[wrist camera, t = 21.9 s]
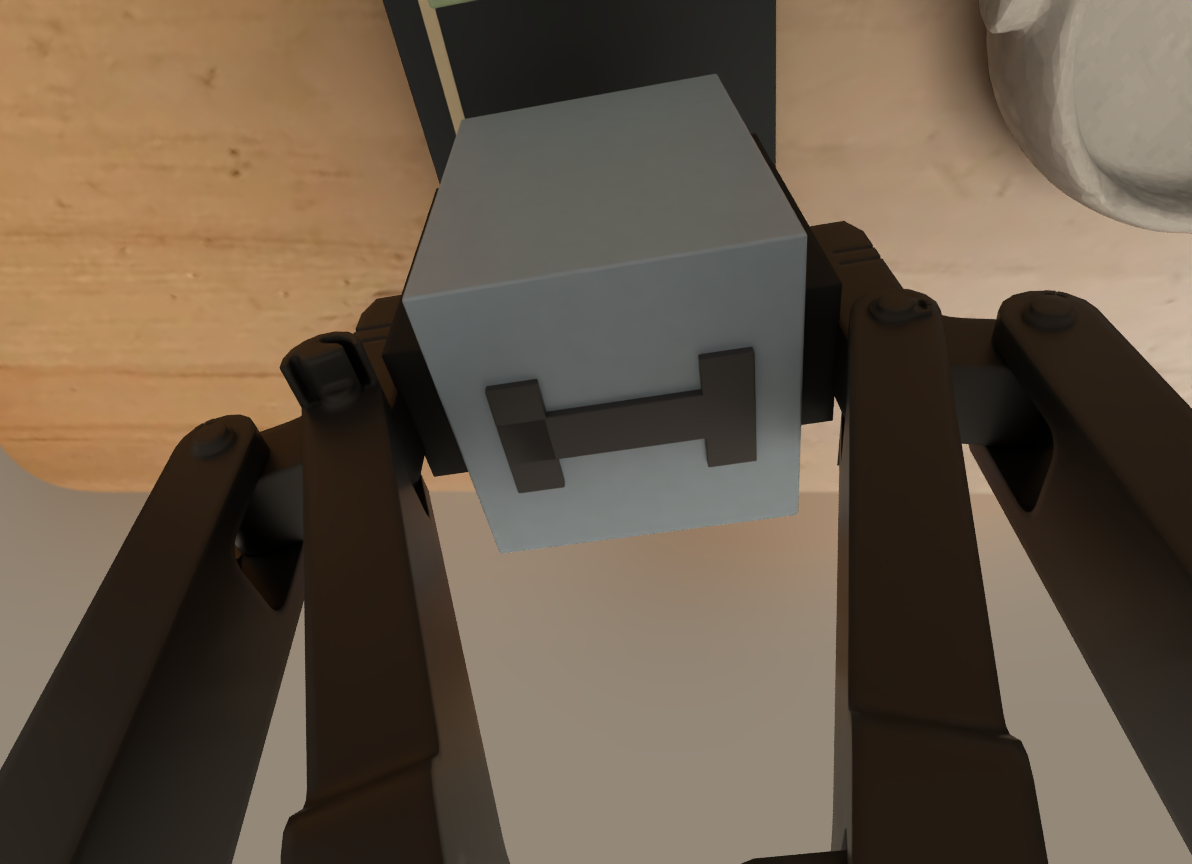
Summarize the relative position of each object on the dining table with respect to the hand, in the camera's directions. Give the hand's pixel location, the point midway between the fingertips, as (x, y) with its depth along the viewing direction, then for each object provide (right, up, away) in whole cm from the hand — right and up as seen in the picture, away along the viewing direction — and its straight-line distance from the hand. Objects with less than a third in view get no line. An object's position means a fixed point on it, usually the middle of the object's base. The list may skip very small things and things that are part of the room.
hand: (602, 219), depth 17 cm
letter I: (0, 0, 0) cm, 0 cm away
